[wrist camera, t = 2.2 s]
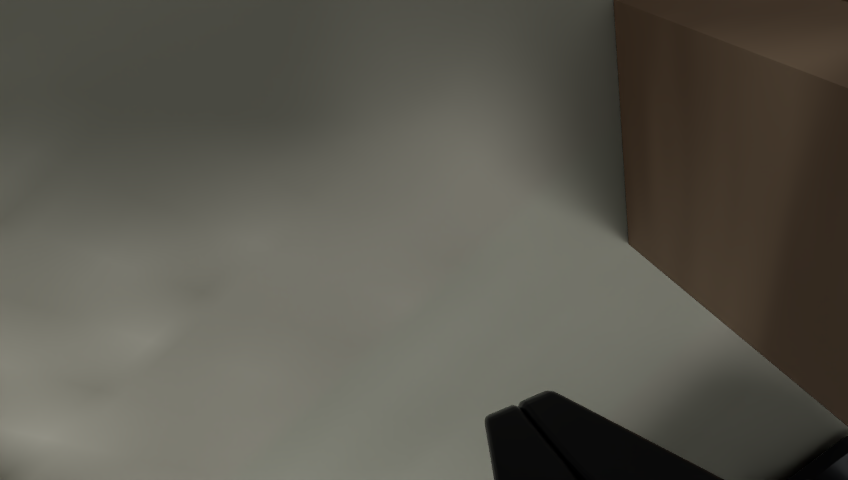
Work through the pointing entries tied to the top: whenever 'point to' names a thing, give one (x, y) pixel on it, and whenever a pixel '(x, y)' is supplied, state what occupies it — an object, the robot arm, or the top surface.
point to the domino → (745, 169)
